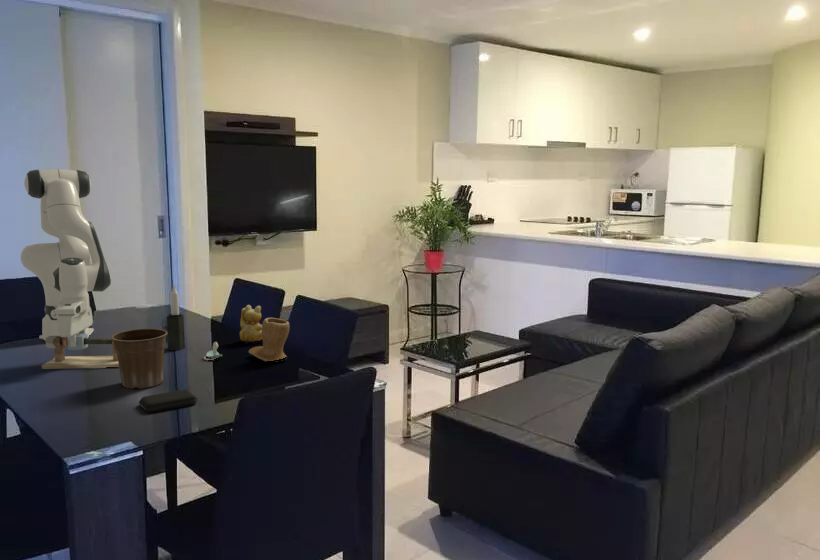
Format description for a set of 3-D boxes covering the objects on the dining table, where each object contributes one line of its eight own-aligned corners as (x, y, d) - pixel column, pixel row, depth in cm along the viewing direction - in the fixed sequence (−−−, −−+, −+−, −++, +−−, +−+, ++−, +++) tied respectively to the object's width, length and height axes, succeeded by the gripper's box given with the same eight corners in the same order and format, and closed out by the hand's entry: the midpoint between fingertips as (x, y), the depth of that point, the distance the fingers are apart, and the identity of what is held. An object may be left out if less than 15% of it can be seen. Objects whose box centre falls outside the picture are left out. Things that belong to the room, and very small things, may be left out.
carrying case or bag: (187, 396, 198) (136, 405, 190) (187, 386, 198) (135, 395, 189) (199, 405, 190) (146, 416, 181) (199, 395, 189) (145, 405, 181)
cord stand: (57, 359, 236) (55, 333, 235) (132, 358, 238) (130, 332, 237) (41, 369, 224) (39, 340, 223) (120, 367, 226) (119, 339, 225)
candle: (179, 350, 250) (176, 285, 247) (166, 349, 251) (163, 285, 248) (186, 347, 255) (183, 283, 251) (174, 346, 256) (171, 283, 252)
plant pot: (135, 395, 198) (132, 342, 195) (103, 386, 206) (100, 335, 204) (180, 381, 211) (178, 332, 209) (148, 373, 220) (145, 326, 218)
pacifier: (207, 363, 234) (223, 360, 238) (206, 345, 233) (222, 343, 237) (201, 358, 240) (217, 355, 244) (199, 341, 239) (216, 339, 243)
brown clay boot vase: (295, 360, 237) (294, 320, 235) (264, 366, 230) (263, 323, 228) (277, 352, 249) (276, 313, 247) (247, 356, 242) (246, 316, 240)
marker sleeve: (73, 346, 232) (72, 333, 232) (88, 346, 233) (87, 333, 232) (67, 349, 228) (67, 336, 227) (82, 349, 228) (82, 336, 227)
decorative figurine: (266, 340, 267) (265, 304, 265) (259, 345, 259) (258, 308, 257) (243, 339, 268) (242, 303, 266) (235, 344, 260) (234, 307, 258)
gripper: (78, 299, 238) (80, 337, 240) (52, 310, 218) (55, 351, 220) (96, 299, 239) (98, 337, 240) (72, 310, 218) (75, 351, 220)
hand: (77, 344), depth 230 cm, fingers closed on marker sleeve, 5 cm apart
